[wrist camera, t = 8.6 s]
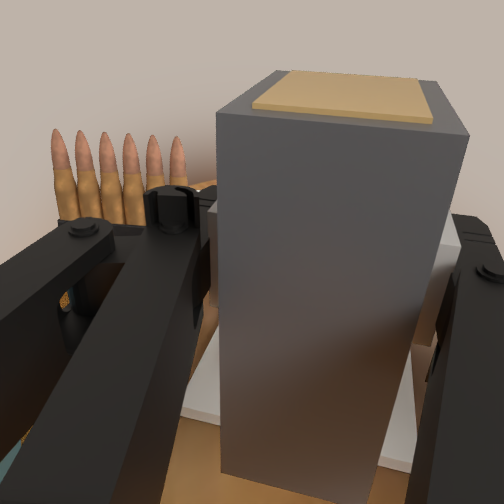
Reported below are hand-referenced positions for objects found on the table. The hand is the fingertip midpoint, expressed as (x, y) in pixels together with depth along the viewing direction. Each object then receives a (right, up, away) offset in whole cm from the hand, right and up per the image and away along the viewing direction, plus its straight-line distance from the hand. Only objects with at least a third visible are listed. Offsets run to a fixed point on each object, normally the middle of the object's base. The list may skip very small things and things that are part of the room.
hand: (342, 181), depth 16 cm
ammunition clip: (-13, -5, +22) cm, 26 cm away
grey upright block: (-2, -8, -1) cm, 8 cm away
